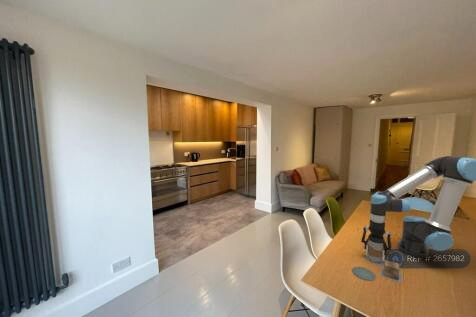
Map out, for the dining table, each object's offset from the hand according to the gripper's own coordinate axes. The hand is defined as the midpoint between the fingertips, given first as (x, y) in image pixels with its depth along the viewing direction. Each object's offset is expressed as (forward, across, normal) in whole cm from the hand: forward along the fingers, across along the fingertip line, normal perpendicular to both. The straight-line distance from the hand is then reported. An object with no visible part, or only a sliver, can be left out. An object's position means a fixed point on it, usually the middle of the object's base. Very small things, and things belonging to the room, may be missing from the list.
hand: (375, 257), depth 123 cm
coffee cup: (+2, 0, 0) cm, 2 cm away
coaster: (+2, +2, +19) cm, 19 cm away
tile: (+2, 0, 0) cm, 2 cm away
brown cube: (+2, -9, +10) cm, 14 cm away
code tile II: (+2, -9, +10) cm, 14 cm away
